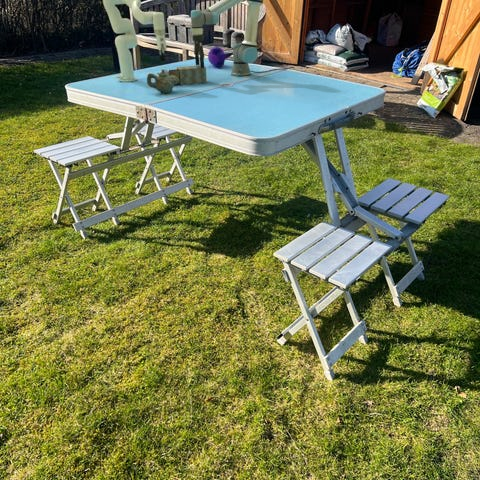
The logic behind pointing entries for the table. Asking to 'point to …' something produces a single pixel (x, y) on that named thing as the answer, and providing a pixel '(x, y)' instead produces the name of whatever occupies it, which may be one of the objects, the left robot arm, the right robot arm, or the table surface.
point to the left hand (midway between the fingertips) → (162, 60)
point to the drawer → (173, 73)
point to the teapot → (162, 81)
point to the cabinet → (192, 75)
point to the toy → (218, 56)
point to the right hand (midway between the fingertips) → (200, 66)
